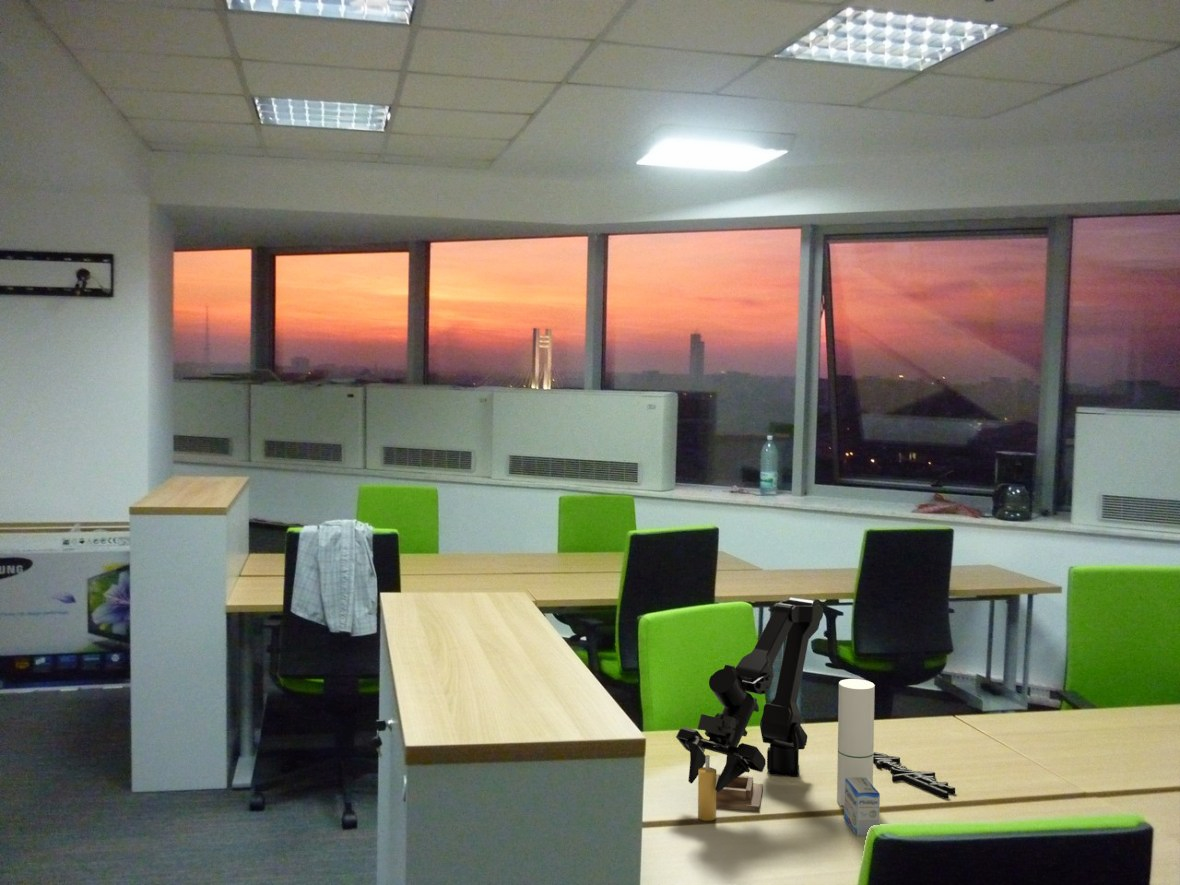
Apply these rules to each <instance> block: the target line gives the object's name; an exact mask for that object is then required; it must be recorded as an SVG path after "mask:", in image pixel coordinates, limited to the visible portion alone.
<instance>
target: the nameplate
mask: <svg viewBox="0 0 1180 885" xmlns="http://www.w3.org/2000/svg"><path fill="white" fill-rule="evenodd" d="M873 765H875V768H876V769H879V770H882V769H883V768H884V769H886V770H888V771H890V774H891V775H892V777H891V780H892V781H891V782H892V783H896V782H901V781H902V782H905V783H907V784H909V785H912V786H914V787H917V788H919V789H921V790H924V791H925V792H928V793H930V794H933V795H935V796H938V798H939V797H940V798H942V799H944V800H948V799H949V796H950V795H956V788H955V787H953V786H950V785H949V782H947V781H940V782H939V781H937V779H936V772H934V771H917V770H916V771H914V770H912V769H909V768H908V767H907V766H906V765H901V757H899V756H893V755H888V754H886V753H881V752H877V751H876V752H875V751H873Z"/></svg>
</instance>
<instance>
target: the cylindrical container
mask: <svg viewBox="0 0 1180 885" xmlns="http://www.w3.org/2000/svg"><path fill="white" fill-rule="evenodd" d="M875 686H876V685H875V684H874V683H873V682H871V681H869V680H865V679H860V678H859V679H858V678H847V679H846V678H845V679H841V680H840V681H839V682H838V712H837V713H838V714H837V715H838V716H837V720H838V722H837V768H836V769H837V777H836V778H837V782H836V783H837V784H836V786H837V787H836V802H838V803H839V804H841V805H843V806H844V804H845V779H846V778H851V777H863V778H866V779H867V780H868V781H869V782H870V783H871V784H872V786H873V787H874V762H873V752H874V748H875V747H874V741H875V740H874V739H875ZM838 803H837V804H838ZM839 804H838V805H839ZM841 805H840V806H841ZM843 806H842V807H843Z"/></svg>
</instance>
